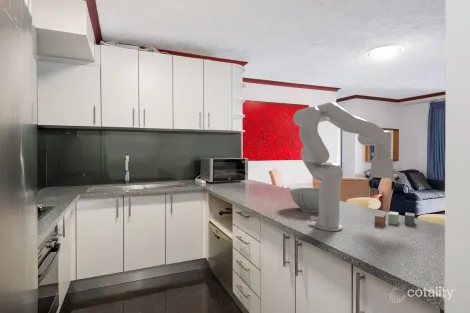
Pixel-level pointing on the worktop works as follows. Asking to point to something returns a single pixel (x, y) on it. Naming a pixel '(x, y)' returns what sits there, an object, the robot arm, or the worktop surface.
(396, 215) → the sage brick
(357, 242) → the worktop surface
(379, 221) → the walnut brick
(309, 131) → the robot arm
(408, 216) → the charcoal brick
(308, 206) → the decorative bowl
